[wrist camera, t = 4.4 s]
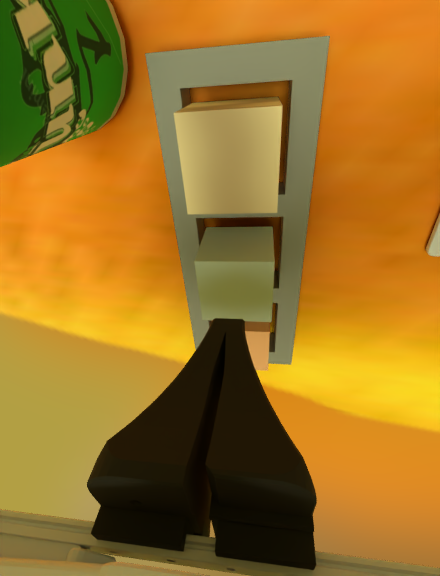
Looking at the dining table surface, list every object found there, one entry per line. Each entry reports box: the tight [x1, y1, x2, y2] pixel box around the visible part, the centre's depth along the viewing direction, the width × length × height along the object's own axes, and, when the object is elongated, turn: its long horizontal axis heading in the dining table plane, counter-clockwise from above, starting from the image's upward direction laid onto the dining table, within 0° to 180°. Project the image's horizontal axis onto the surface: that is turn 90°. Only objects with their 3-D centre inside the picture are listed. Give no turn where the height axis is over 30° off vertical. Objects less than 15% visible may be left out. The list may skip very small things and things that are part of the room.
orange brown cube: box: [212, 320, 270, 370], centre depth 23 cm, size 4×4×4 cm
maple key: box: [174, 97, 282, 214], centre depth 14 cm, size 4×4×4 cm
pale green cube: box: [194, 226, 275, 322], centre depth 17 cm, size 4×4×4 cm
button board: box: [145, 36, 330, 364], centre depth 20 cm, size 8×21×2 cm, turn 4°
